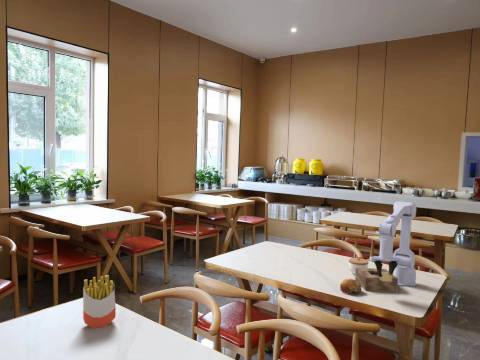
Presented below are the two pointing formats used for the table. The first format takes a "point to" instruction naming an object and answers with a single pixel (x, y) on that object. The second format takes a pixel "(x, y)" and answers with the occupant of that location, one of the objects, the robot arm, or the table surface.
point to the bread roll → (350, 287)
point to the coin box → (374, 280)
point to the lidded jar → (357, 264)
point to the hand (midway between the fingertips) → (384, 276)
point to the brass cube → (385, 276)
